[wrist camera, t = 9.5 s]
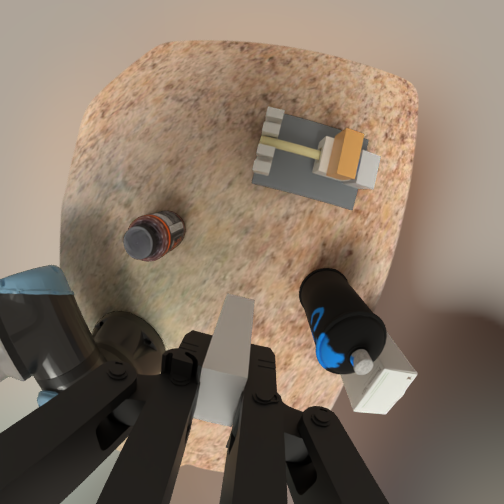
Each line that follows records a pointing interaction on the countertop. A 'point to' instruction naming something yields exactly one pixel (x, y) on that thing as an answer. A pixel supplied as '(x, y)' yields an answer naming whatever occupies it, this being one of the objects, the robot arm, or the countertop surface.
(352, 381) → the skincare box
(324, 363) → the aerosol can
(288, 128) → the cord board
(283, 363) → the countertop surface
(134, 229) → the supplement bottle
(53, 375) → the robot arm
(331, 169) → the sleeve
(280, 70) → the countertop surface
